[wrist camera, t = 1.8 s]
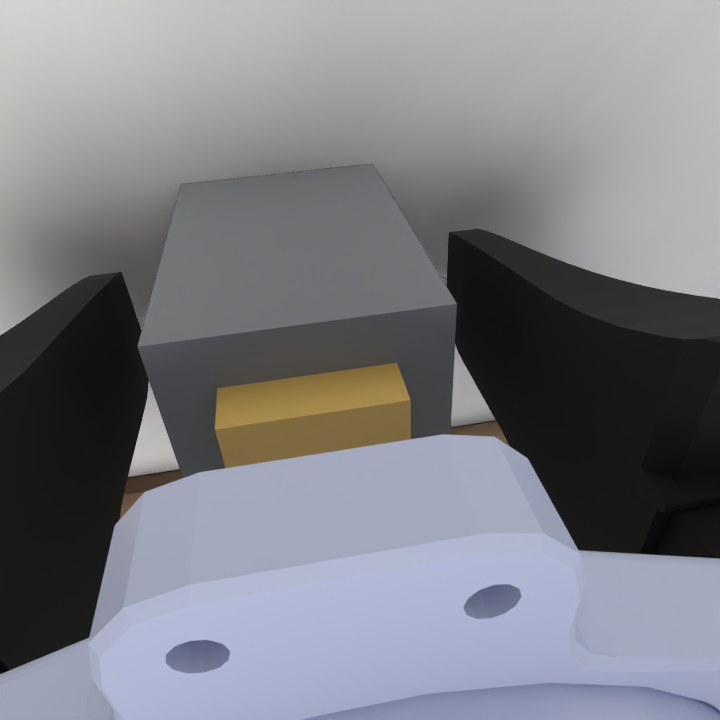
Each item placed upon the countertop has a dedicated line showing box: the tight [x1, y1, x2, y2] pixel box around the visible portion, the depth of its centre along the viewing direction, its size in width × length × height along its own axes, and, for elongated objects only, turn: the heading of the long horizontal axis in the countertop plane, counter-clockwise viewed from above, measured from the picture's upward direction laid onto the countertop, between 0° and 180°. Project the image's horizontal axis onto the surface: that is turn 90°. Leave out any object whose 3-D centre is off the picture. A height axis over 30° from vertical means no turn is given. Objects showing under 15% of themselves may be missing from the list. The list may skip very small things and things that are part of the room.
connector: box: [137, 164, 457, 478], centre depth 10 cm, size 4×4×7 cm
